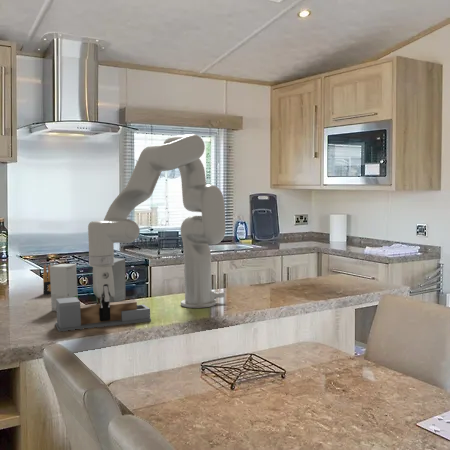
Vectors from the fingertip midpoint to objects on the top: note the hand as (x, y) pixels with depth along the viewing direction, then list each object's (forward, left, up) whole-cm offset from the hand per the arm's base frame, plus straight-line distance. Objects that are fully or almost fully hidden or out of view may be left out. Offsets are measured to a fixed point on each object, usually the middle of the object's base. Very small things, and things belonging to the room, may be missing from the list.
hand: (103, 318), depth 174 cm
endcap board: (0, 0, -1) cm, 1 cm away
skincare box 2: (-10, -31, -2) cm, 33 cm away
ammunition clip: (+6, -59, -2) cm, 59 cm away
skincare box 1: (+8, -27, -2) cm, 28 cm away
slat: (-1, 0, -1) cm, 1 cm away
